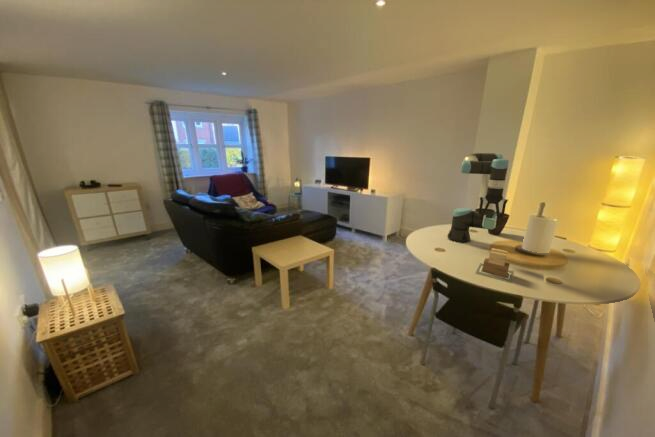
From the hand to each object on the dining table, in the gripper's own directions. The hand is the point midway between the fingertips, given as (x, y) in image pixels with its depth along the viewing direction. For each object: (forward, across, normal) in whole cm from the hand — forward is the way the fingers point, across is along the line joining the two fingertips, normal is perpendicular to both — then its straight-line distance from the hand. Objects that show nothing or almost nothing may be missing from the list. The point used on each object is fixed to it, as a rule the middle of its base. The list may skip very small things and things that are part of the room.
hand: (488, 226), depth 150 cm
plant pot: (+22, -1, +59) cm, 63 cm away
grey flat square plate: (+21, +8, -18) cm, 28 cm away
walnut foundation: (+20, +8, -18) cm, 28 cm away
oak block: (+14, +8, -17) cm, 23 cm away
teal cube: (0, 0, 0) cm, 0 cm away
